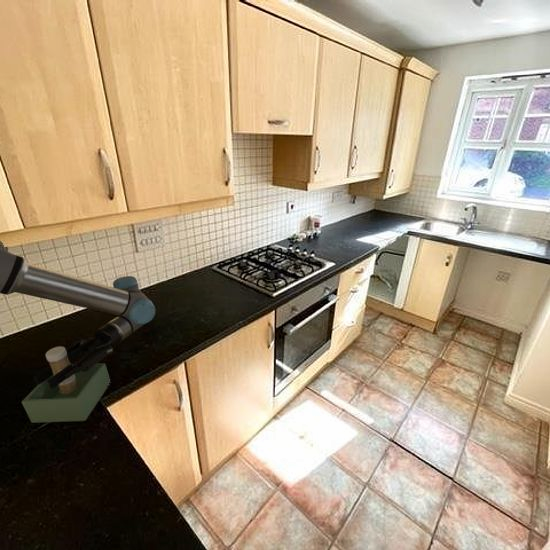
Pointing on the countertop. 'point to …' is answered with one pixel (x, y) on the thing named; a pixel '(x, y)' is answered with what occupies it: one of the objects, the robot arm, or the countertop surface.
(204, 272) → the countertop surface
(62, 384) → the sprinkles bottle
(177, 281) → the countertop surface
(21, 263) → the robot arm
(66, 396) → the bin
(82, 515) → the countertop surface
